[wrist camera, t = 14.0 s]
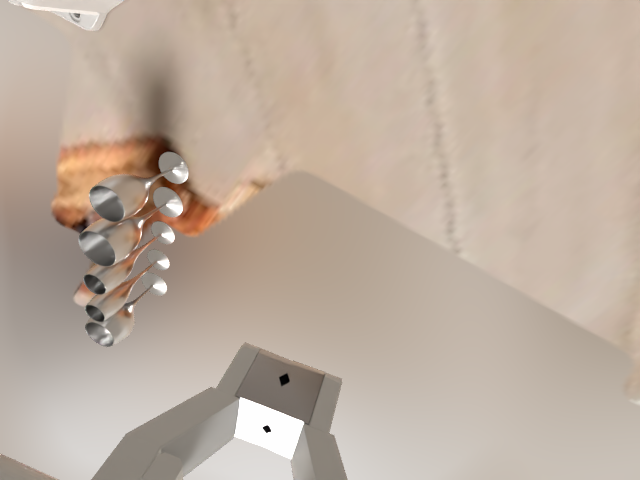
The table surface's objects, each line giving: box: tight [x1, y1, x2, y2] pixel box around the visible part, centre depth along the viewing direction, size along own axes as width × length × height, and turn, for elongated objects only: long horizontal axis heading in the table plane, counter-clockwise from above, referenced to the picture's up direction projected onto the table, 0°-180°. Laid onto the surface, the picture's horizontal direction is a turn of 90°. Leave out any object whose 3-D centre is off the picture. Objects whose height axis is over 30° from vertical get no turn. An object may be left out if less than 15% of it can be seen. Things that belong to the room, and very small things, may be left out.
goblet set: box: [79, 152, 188, 347], centre depth 49 cm, size 28×6×13 cm, turn 158°
